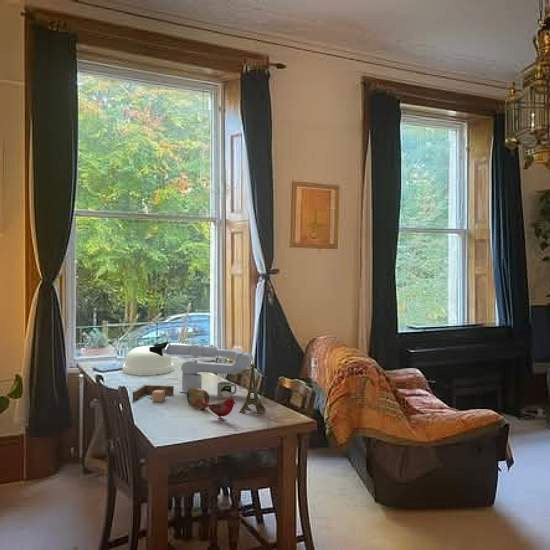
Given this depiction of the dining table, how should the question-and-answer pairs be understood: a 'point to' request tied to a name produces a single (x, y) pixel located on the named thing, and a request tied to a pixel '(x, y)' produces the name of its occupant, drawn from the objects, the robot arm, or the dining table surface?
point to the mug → (225, 390)
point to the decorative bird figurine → (221, 407)
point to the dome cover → (147, 362)
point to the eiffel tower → (254, 399)
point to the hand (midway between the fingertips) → (151, 347)
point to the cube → (159, 395)
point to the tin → (197, 398)
